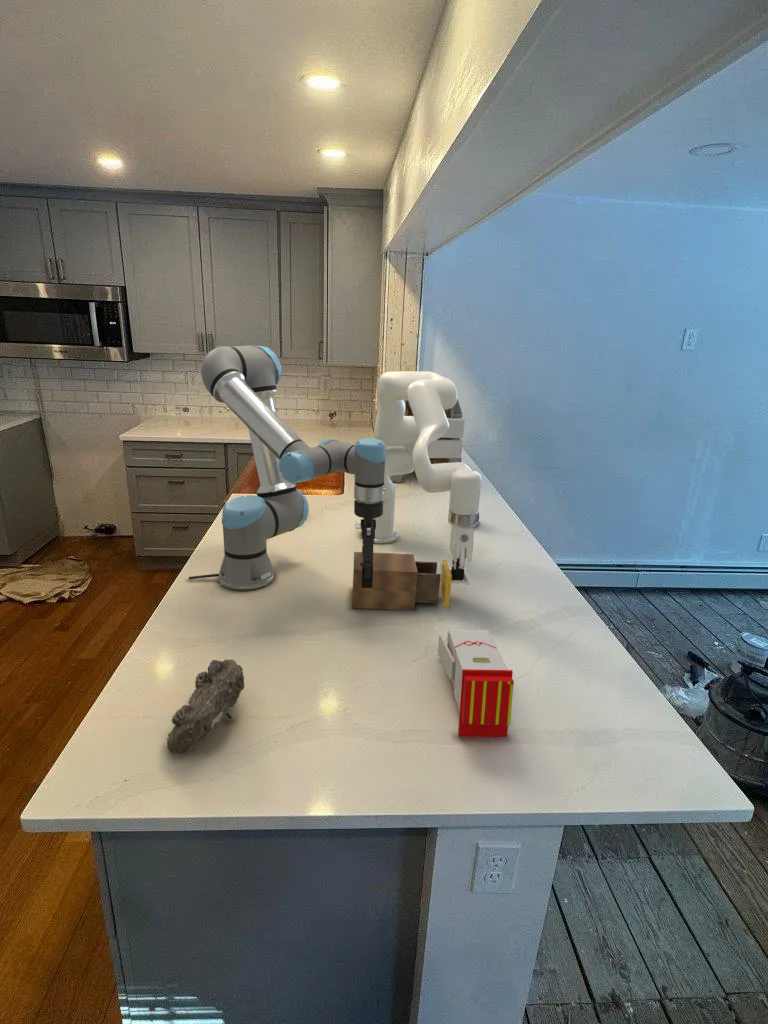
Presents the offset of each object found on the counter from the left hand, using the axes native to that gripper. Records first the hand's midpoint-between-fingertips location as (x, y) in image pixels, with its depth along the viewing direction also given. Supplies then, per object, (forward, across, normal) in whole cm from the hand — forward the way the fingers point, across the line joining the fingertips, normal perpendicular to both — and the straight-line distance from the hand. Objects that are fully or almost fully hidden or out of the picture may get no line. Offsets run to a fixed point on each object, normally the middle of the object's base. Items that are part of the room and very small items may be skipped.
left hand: (366, 576), depth 152 cm
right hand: (+1, 0, -24) cm, 24 cm away
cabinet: (+7, 0, -4) cm, 8 cm away
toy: (+7, -39, -21) cm, 45 cm away
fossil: (+6, -48, +30) cm, 57 cm away
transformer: (+7, +127, -27) cm, 130 cm away
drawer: (+6, 0, -17) cm, 18 cm away
